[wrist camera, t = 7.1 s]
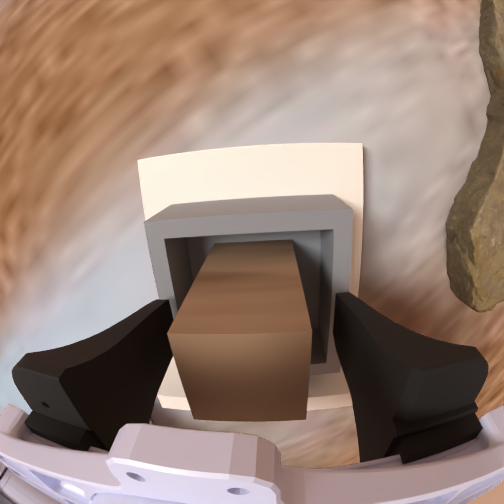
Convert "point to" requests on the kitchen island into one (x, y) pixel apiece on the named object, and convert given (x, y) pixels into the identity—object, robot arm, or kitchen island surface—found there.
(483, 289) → the stone slab
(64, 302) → the kitchen island surface
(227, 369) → the walnut rail post
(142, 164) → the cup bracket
